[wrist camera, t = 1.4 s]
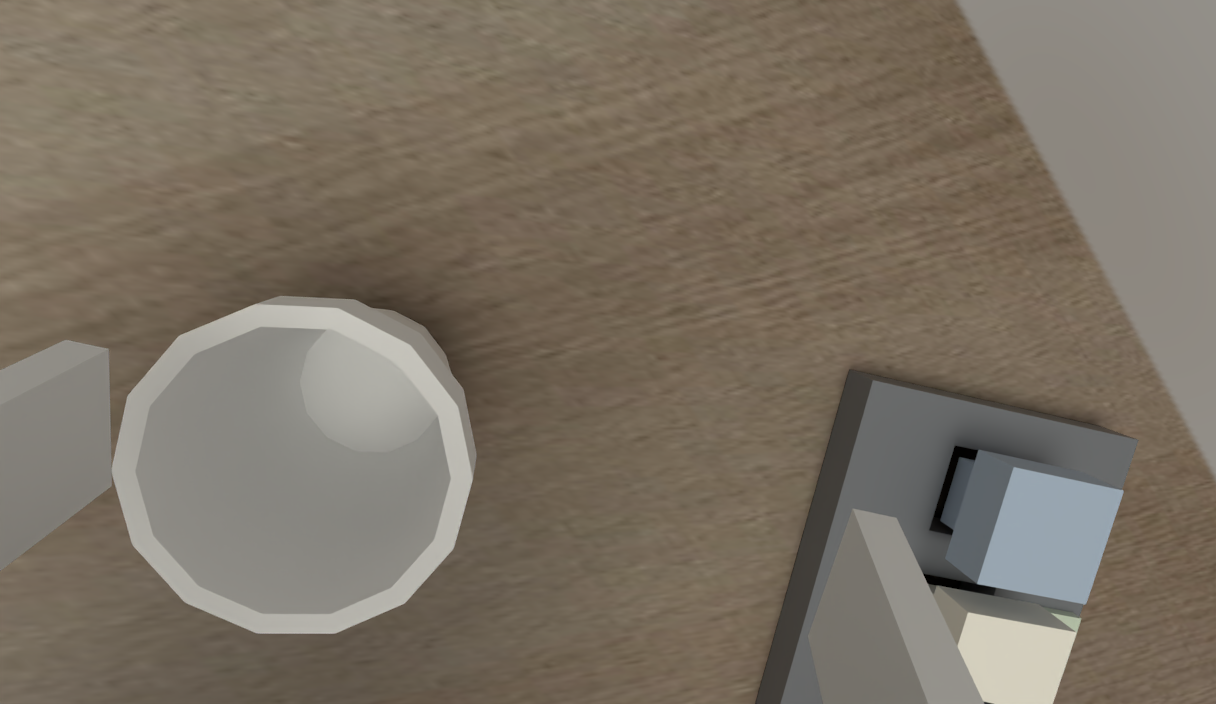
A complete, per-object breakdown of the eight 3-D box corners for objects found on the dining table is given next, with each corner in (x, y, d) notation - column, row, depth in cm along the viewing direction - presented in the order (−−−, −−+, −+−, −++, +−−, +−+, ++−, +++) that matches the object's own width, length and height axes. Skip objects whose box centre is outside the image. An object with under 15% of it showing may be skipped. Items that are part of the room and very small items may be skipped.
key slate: (1012, 554, 37) (1085, 604, 32) (916, 535, 37) (977, 583, 32) (1043, 454, 37) (1123, 490, 32) (946, 433, 36) (1013, 467, 31)
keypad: (944, 899, 43) (977, 952, 40) (708, 870, 41) (724, 923, 38) (1099, 425, 39) (1148, 443, 36) (849, 369, 37) (879, 382, 34)
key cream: (973, 674, 38) (1040, 740, 33) (879, 658, 37) (933, 723, 33) (1004, 578, 37) (1076, 632, 33) (908, 560, 37) (968, 612, 32)
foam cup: (525, 339, 35) (531, 407, 23) (426, 521, 36) (378, 685, 24) (321, 231, 34) (205, 239, 21) (222, 425, 35) (52, 545, 22)
